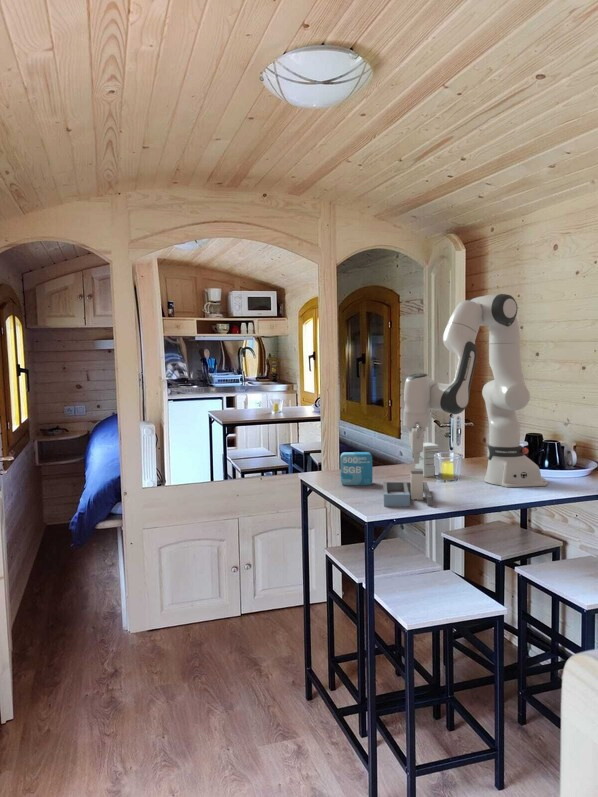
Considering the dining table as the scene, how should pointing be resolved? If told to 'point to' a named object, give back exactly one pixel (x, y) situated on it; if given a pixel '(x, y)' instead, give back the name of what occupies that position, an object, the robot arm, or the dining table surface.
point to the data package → (356, 468)
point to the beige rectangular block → (417, 484)
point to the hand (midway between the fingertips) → (415, 460)
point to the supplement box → (427, 459)
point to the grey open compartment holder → (402, 498)
